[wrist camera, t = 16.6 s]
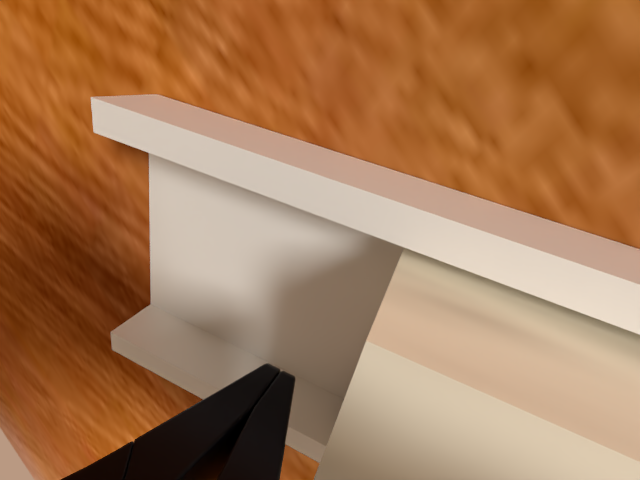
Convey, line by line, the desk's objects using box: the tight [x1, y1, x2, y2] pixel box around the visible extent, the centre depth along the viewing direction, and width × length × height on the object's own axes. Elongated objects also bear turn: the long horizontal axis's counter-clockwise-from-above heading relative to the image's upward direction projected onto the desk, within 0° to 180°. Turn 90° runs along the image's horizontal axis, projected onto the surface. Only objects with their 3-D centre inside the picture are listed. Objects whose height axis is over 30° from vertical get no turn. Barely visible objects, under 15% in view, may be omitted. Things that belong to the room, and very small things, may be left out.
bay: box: [91, 94, 640, 463], centre depth 12 cm, size 10×18×2 cm, turn 77°
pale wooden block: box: [314, 248, 640, 480], centre depth 9 cm, size 7×8×5 cm
